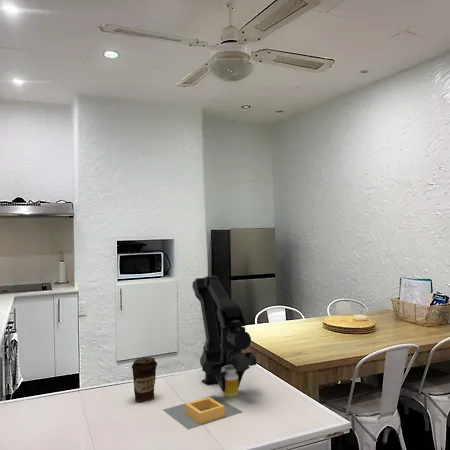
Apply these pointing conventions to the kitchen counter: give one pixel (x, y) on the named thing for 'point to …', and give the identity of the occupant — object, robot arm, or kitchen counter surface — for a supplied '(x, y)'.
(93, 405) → the kitchen counter surface
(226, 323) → the robot arm
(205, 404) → the orange collar
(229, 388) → the supplement bottle
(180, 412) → the slate board
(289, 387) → the kitchen counter surface
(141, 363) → the coffee cup
